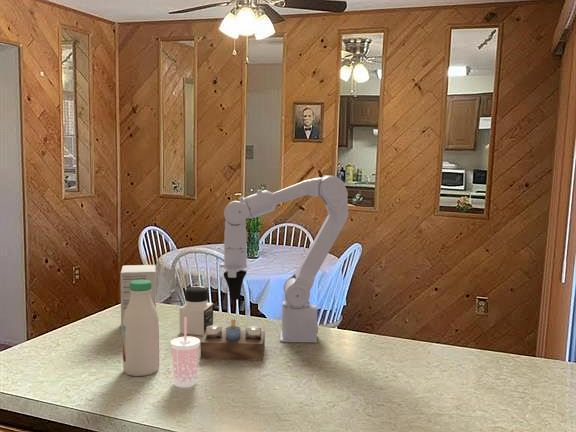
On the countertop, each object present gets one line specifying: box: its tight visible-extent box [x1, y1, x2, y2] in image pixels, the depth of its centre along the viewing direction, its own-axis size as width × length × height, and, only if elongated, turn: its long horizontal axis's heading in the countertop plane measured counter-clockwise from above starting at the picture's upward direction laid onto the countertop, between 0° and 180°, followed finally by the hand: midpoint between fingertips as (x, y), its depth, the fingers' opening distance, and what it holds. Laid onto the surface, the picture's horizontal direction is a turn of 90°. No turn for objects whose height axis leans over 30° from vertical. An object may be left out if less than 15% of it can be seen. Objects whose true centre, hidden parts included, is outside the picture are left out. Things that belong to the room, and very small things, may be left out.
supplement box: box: [119, 264, 157, 335], centre depth 146 cm, size 10×9×17 cm
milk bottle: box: [122, 280, 160, 377], centre depth 117 cm, size 8×8×20 cm
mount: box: [200, 329, 266, 361], centre depth 130 cm, size 14×9×4 cm, turn 89°
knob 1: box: [206, 324, 223, 339], centre depth 130 cm, size 4×4×6 cm
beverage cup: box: [170, 317, 201, 388], centre depth 111 cm, size 6×6×14 cm
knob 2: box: [245, 325, 262, 340], centre depth 129 cm, size 4×4×6 cm
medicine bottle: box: [179, 285, 214, 336], centre depth 145 cm, size 7×7×12 cm
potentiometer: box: [225, 319, 241, 340], centre depth 128 cm, size 3×3×4 cm
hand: (235, 298), depth 140 cm, fingers closed
